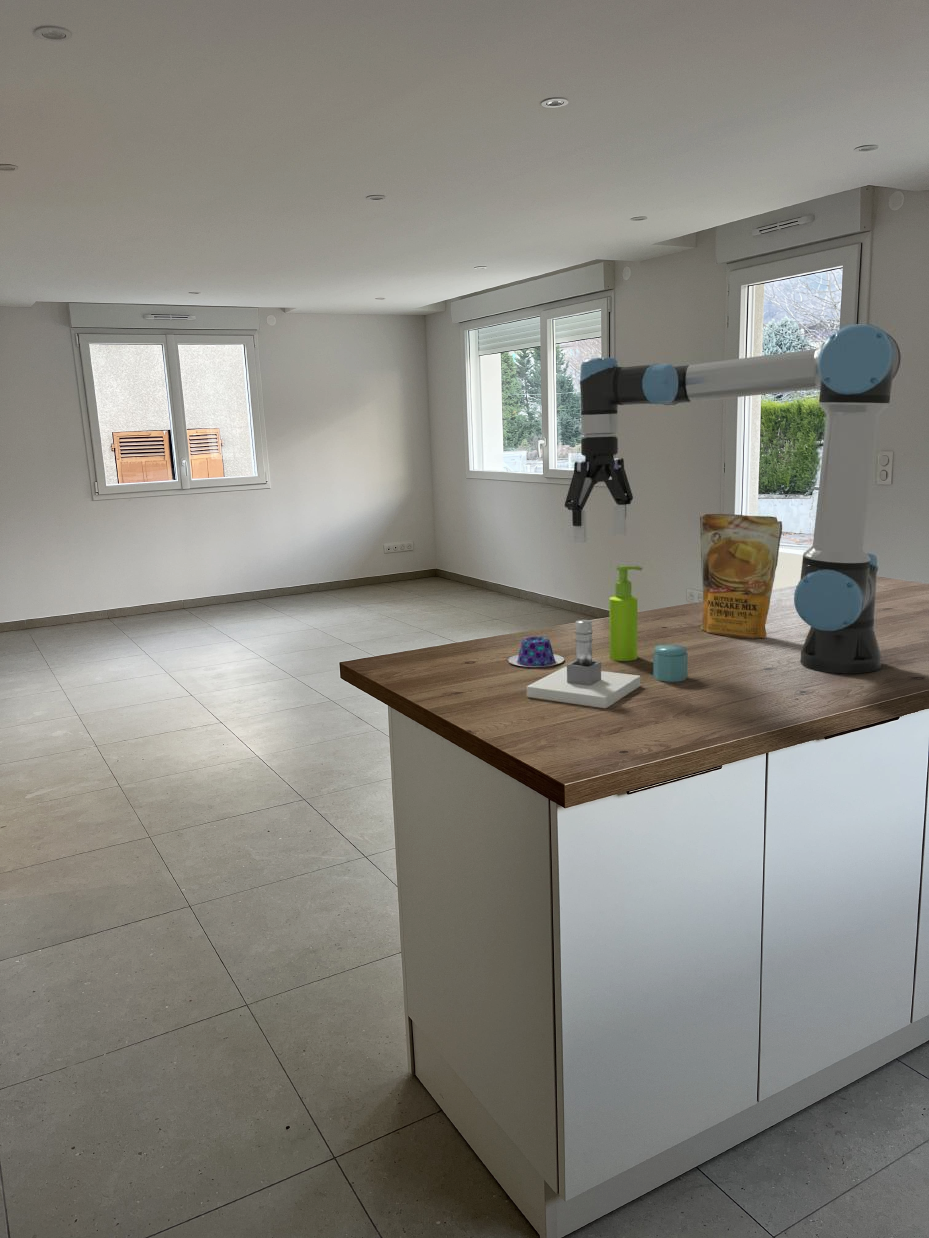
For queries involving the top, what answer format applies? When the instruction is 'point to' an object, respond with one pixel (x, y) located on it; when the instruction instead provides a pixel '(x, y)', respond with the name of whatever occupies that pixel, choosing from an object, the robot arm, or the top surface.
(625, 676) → the post base
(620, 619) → the soap dispenser
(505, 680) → the top surface
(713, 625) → the pancake mix bag
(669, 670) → the cap
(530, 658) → the patterned brimmed hat
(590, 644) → the post
